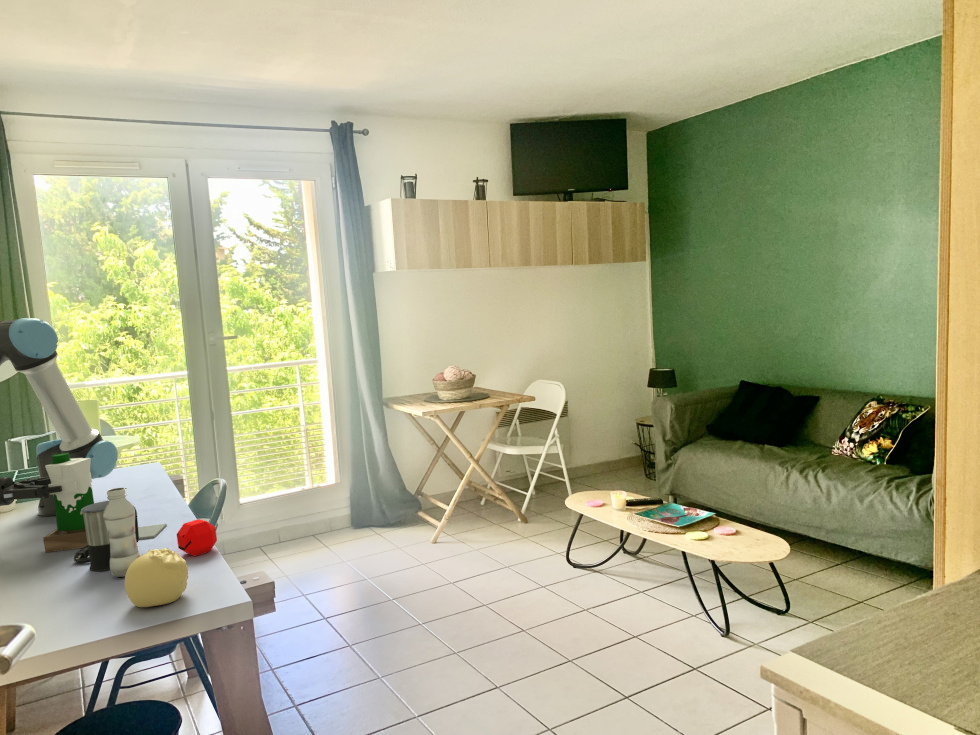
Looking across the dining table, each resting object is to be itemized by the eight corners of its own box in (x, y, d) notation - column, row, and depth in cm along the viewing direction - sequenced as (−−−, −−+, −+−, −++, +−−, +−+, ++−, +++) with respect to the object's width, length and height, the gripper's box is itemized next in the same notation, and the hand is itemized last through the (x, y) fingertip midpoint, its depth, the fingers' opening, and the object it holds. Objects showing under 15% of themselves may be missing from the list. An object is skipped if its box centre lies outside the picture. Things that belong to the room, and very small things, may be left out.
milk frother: (121, 570, 172) (112, 508, 171) (53, 576, 171) (44, 515, 170) (147, 549, 186) (139, 492, 185) (84, 555, 186) (75, 498, 184)
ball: (175, 555, 180) (171, 524, 179) (206, 544, 186) (202, 515, 185) (191, 560, 174) (187, 529, 174) (222, 549, 180) (218, 519, 180)
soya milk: (76, 521, 203) (65, 451, 201) (104, 520, 201) (93, 449, 199) (51, 532, 195) (39, 458, 192) (80, 531, 193) (69, 457, 191)
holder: (66, 537, 204) (64, 523, 204) (115, 531, 206) (113, 517, 206) (45, 552, 191) (43, 537, 191) (97, 545, 193) (95, 531, 193)
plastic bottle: (120, 570, 171) (109, 487, 170) (148, 568, 171) (137, 484, 169) (105, 581, 165) (93, 494, 163) (134, 579, 165) (122, 492, 163)
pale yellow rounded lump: (197, 600, 149) (191, 548, 148) (133, 619, 142) (125, 565, 141) (184, 585, 158) (178, 536, 157) (123, 602, 151) (116, 551, 150)
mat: (125, 530, 205) (125, 528, 205) (166, 525, 207) (166, 523, 207) (111, 543, 194) (110, 541, 194) (154, 537, 196) (154, 535, 196)
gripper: (16, 495, 205) (101, 485, 208) (-27, 518, 184) (68, 506, 187) (12, 469, 204) (97, 459, 207) (-32, 489, 183) (64, 477, 186)
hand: (83, 481), depth 197 cm, fingers closed on soya milk, 9 cm apart
